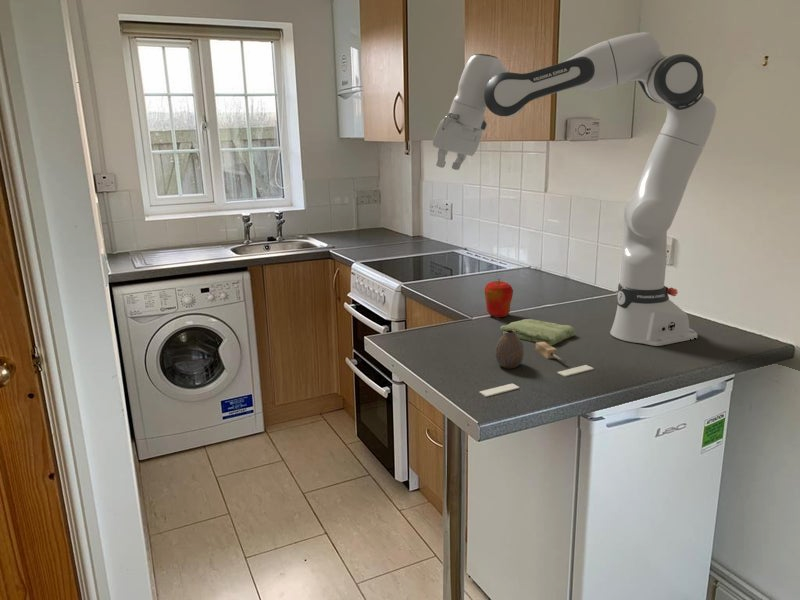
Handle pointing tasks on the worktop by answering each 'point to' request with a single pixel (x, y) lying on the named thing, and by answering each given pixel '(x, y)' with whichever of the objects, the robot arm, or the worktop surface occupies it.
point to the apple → (498, 298)
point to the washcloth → (540, 331)
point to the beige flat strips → (513, 387)
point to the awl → (547, 351)
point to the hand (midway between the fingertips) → (447, 168)
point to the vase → (509, 350)
